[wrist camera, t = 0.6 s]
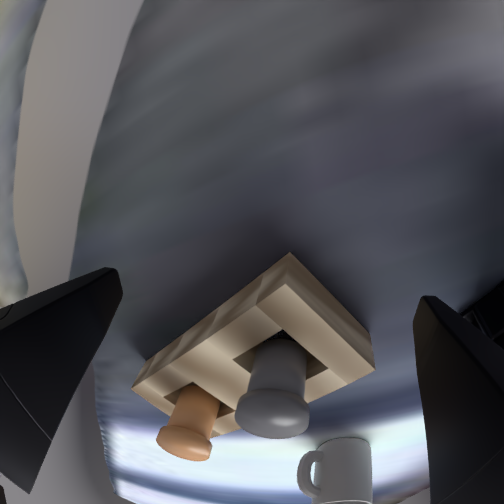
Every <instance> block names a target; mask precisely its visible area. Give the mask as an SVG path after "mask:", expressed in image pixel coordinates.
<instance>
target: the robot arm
mask: <svg viewBox="0 0 504 504" xmlns="http://www.w3.org/2000/svg"><path fill="white" fill-rule="evenodd" d="M122 296H123V290H122V286H121V282H120V278H119V274H118V271H117V270H116V269H114V268H107V267H104V268H101V269H99V270H96V271H93V272H91V273H88V274H86V275H83V276H80V277H78V278H75V279H73V280H70V281H68V282H65V283H63V284H60V285H58V286H55V287H53V288H50V289H47V290H45V291H43V292H40V293H38V294H35V295H33V296H30V297H28V298H25V299H23V300H20V301H18V302H16V303H14V304H11V305H8V306H6V307H4V308H1V309H0V477H1V475H2V474H3V475H4V476H5V477H7V478H8V479H9V480H10V481H12V482H13V483H14V484H16V485H17V486H18V487H20V488H21V489H22V490H24V491H25V492H27V493H28V494H30V492H31V490H32V488H33V486H34V483H35V480H36V478H37V475H38V473H39V470H40V468H41V466H42V463H43V461H44V458H45V456H46V454H47V452H48V449H49V447H50V445H51V442H52V440H53V438H54V435H55V433H56V431H57V429H58V427H59V424H60V422H61V420H62V418H63V416H64V414H65V412H66V410H67V408H68V406H69V403H70V402H71V399H72V397H73V395H74V393H75V391H76V389H77V388H78V386H79V384H80V381H81V380H82V378H83V376H84V374H85V372H86V370H87V368H88V366H89V364H90V363H91V361H92V359H93V357H94V355H95V353H96V351H97V350H98V348H99V346H100V344H101V342H102V341H103V339H104V337H105V335H106V333H107V330H108V328H109V326H110V324H111V321H112V319H113V317H114V315H115V312H116V310H117V308H118V306H119V304H120V301H121V299H122ZM413 334H414V344H415V356H416V368H417V376H418V383H419V388H420V395H421V401H422V408H423V415H424V423H425V431H426V440H427V450H428V462H429V477H430V499H431V500H430V504H504V281H503V282H502V283H501V284H500V285H498V286H497V287H496V288H495V289H493V290H492V291H491V292H490V293H488V294H487V295H486V296H484V297H483V298H482V299H481V300H479V301H478V302H477V303H475V304H474V305H473V306H471V307H470V308H468V309H467V310H466V311H464V312H463V313H462V314H458V313H457V312H456V311H454V310H453V309H452V308H451V307H449V306H448V305H447V304H445V303H444V302H443V301H441V300H440V299H439V298H437V297H436V296H422V297H421V299H420V301H419V304H418V307H417V310H416V313H415V316H414V320H413ZM0 504H6V499H5V494H4V489H3V487H2V486H1V485H0Z"/></svg>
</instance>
